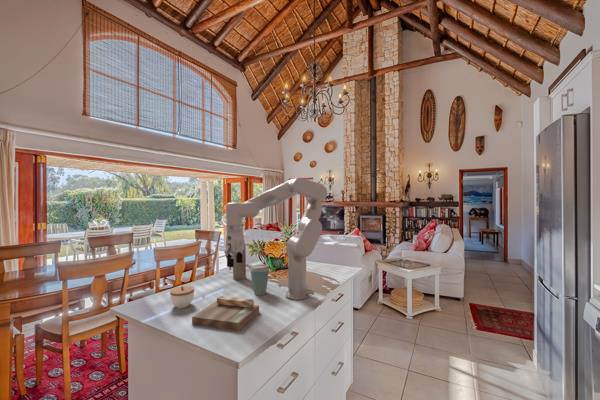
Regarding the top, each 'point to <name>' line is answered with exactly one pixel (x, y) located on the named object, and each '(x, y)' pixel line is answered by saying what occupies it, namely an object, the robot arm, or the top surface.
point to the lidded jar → (182, 296)
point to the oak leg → (235, 301)
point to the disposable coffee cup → (259, 278)
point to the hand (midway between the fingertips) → (235, 264)
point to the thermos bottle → (240, 267)
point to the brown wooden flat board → (225, 316)
